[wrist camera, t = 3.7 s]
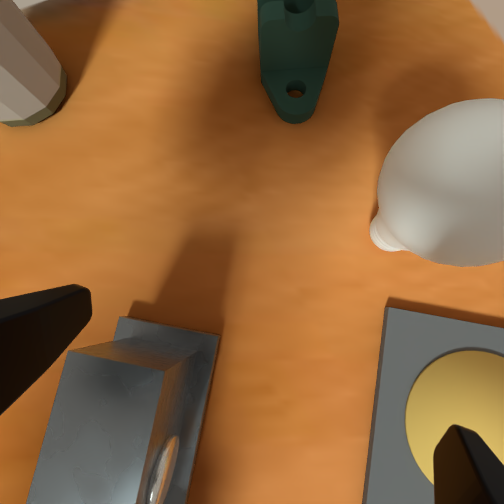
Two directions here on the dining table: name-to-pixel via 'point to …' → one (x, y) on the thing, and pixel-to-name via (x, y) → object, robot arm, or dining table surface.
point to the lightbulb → (446, 187)
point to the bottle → (26, 71)
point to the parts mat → (430, 399)
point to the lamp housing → (127, 418)
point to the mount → (295, 52)
